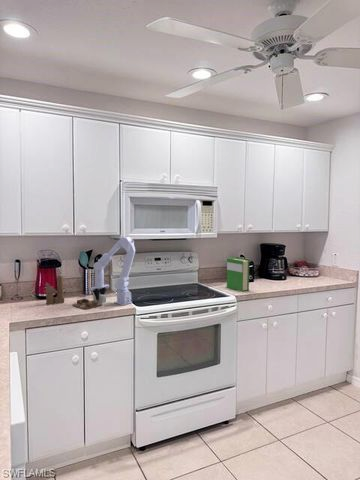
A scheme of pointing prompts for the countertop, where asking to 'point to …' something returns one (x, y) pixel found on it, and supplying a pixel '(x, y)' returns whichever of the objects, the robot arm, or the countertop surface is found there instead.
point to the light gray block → (100, 298)
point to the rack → (86, 304)
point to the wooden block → (51, 290)
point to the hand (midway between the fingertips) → (99, 299)
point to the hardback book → (238, 274)
